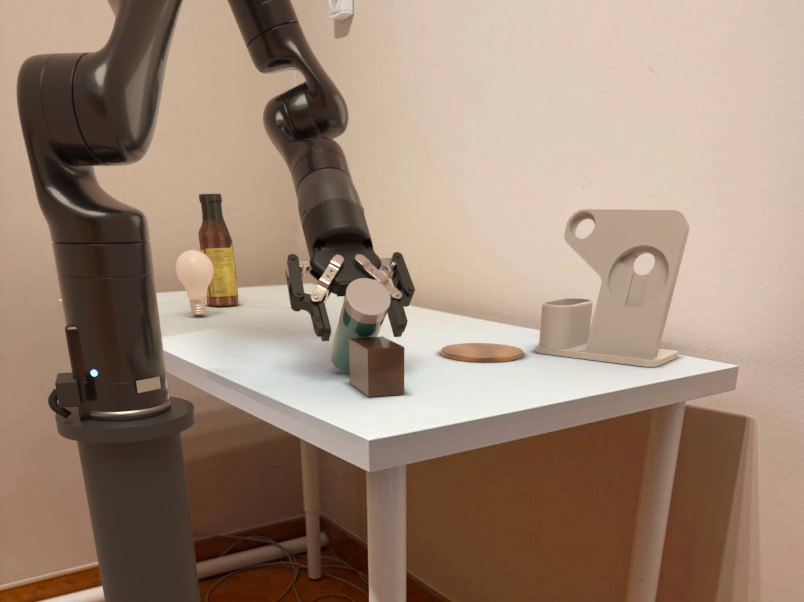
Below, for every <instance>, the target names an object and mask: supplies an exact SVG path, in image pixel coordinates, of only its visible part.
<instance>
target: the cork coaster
mask: <svg viewBox="0 0 804 602" xmlns="http://www.w3.org/2000/svg"><path fill="white" fill-rule="evenodd" d="M440 351H441V352H440V353H441V355H442V356H443V357H445V358H447V359H451V360H456V361H461V362H472V363H501V362H502V363H503V362H510V361H516V360H520V359H521V358H523V357H524V350H523V349H522V348H521V347H517V346H514V345H508V344H501V343H488V342H467V343H466V342H463V343H455V344H449V345H446V346H443V347H441V350H440Z"/></svg>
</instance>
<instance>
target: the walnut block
mask: <svg viewBox="0 0 804 602" xmlns="http://www.w3.org/2000/svg"><path fill="white" fill-rule="evenodd" d="M349 364H350V373H349V384H350V385H352V387H354V388H356V389H357V390H358V391H359V392H361V393H362V394H364V395H365V396H366V397H368V398H376V397H378V398H379V397H390V396H404V395H405V346H403V345H401V344H399V343H397V342H395V341H393V340H390V339H388V338H387V337H385V336H378V337H366V338H349Z"/></svg>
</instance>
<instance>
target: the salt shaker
mask: <svg viewBox="0 0 804 602" xmlns="http://www.w3.org/2000/svg"><path fill="white" fill-rule="evenodd" d="M390 302H391V299H390V295H389V292H388V291H387V289H386V288H385V287H384V286H383V285H382V284H381V283H379V282H378V281H375V280H373V279H369V278H360V279H356V280H354V281H352V282H351V283H350V284H349V285H348V287H347V289H346V293H345V296H343V303H342V306H341V309H340V313H339V317H338V321H337V325H336V327H335V331H334V336H333V339H332V343H331V348H330V351H329V357H330V361H331V363H332V364H333V366H334V367H335V368H336V369H338V370H339V371H341V372H343V373H346V374H350V364H349V338H366V337H380V336H379V335H380V333H381V330H382V327H383V324H384V322H385V318H386V316H387V315H388V314H387V312H388V309H389V306H390Z"/></svg>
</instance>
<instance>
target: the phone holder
mask: <svg viewBox="0 0 804 602" xmlns="http://www.w3.org/2000/svg"><path fill="white" fill-rule="evenodd" d="M585 220H591V221H592V222H593V224H594V227H593V229H592V231H591V233H590V234H589V235H587V237H584V238H580V237H578V236H577V228H578V226H579V225H580V224H581V223H582V222H583V221H585ZM689 233H690V224H689V221H688V219H687V218H686V216H685V215H684V214H683V213H682V212H680V211H679V210H675V209H606V208H605V209H604V208H603V209H601V208H600V209H599V208H598V209H596V208H595V209H593V208H591V209H590V208H589V209H588V208H587V209H586V208H584V209H583V208H582V209H579V210H577V211H575V212H573V214H571V215H570V217H569V218H568V219H567V222H566V225H565V229H564V233H563V238H564V241H565V242H566V244H567V245H568V246H569V247H570V248H571V249H572V250H573V251H574V252H575V253H576V255H578V256H579V257H580V258H581V259H582V260H583V261H584V262H585V263H586V264H587V265H588V266H589V267H590V268H591V269H592V270H593V271H594V272H595V273H596V274H597V275H598V276H599V277H600V280H601V283H600V288H599V292H598V296H597V300H596V304H595V309H594V313H593V305H594V304H593V303H594V302H593V301H592V300H591V299H587V298H562V299H557V300H552V301H546V302H544V303H542V305H541V316H540V328H539V339H538V345H536V346H535V353H537V354H541V355H550V356H557V357H558V356H559V357H567V358H574V359H583V360H588V361H589V360H590V361H597V362H604V363H612V364H613V363H614V364H621V365H628V366H637V367H644V368H656V367H660V366H661V365H664V364H666V363H668V362H671V361H673V360H676V359H678V355H679V352H678V351H677V350H675V349H666V348H660V347H661V343H662V339H663V335H664V331H665V327H666V323H667V319H668V315H669V312H670V308H671V305H672V300H673V296H674V293H675V288H676V284H677V280H678V277H679V273H680V270H681V269H680V268H681V265H682V261H683V256H684V253H685V249H686V245H687V241H688V238H689ZM644 254H649V255H652V256H653V258H654V264H653V267H652V269H650V270H649V272H648V273H646V274H639V273H637V272H636V271H635V268H634V266H635V262H636V261H637V259H638V258H639V257H640V256H642V255H644ZM592 313H593V315H592Z"/></svg>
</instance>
